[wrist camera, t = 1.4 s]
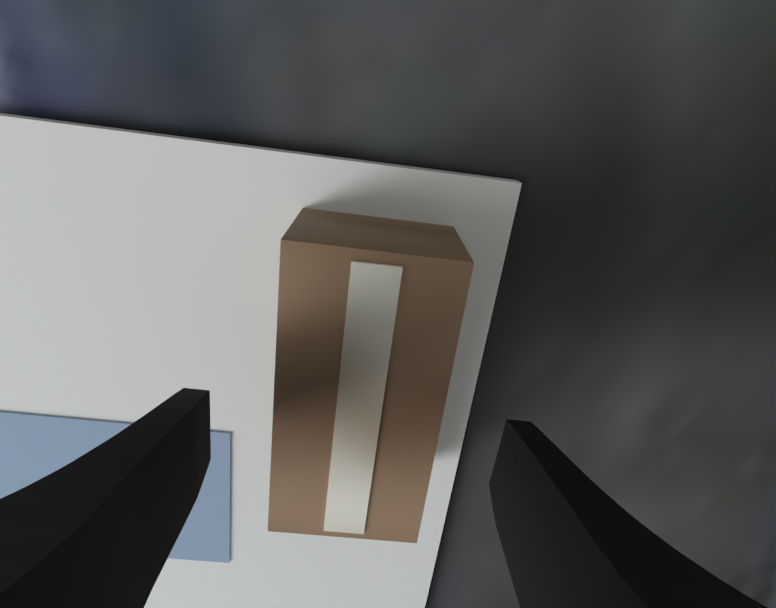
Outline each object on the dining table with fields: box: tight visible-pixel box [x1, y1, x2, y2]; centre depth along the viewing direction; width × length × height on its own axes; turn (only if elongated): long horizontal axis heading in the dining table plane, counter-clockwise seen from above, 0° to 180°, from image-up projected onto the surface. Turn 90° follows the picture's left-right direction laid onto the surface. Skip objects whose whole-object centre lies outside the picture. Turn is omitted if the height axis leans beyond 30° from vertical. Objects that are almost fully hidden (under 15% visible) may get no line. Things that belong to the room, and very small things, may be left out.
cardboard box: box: [268, 208, 474, 543], centre depth 15 cm, size 9×4×4 cm, turn 173°
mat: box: [0, 113, 522, 608], centre depth 18 cm, size 20×20×1 cm
